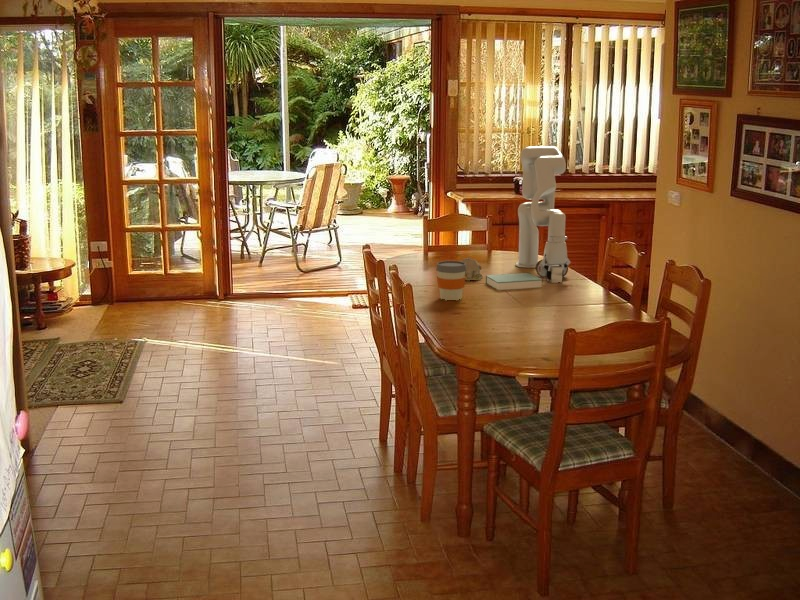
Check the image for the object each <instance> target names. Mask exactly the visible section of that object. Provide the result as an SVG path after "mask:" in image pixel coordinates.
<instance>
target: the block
mask: <svg viewBox="0 0 800 600" xmlns="http://www.w3.org/2000/svg"><path fill="white" fill-rule="evenodd" d="M562 270H563V267H561V266H559V265H552V266H551V270H550V271H551V280H549V279H547V278H546V279H547V280H546V281H547V282H548V283H550V284H555V283H557V284H558V282H560V283H562V282H563V279H562Z"/></svg>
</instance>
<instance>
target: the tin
mask: <svg viewBox="0 0 800 600" xmlns="http://www.w3.org/2000/svg"><path fill="white" fill-rule="evenodd" d="M542 260H543V258H541V259H540V260H538V263H537V264H536V268H535V271H536V273H537V275H538V276H539V277H541V278H547V277H546V272H547V270H546V269H545V268H544V267H543V266H542V265H541V264H540V262H541V261H542ZM544 264H545V265H547V263H544ZM556 265H559V264H556ZM568 271H569V265H567V267H566V268H565V270H564V271H563V278H564V277H565V276H566V275H567V274H568Z"/></svg>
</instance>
